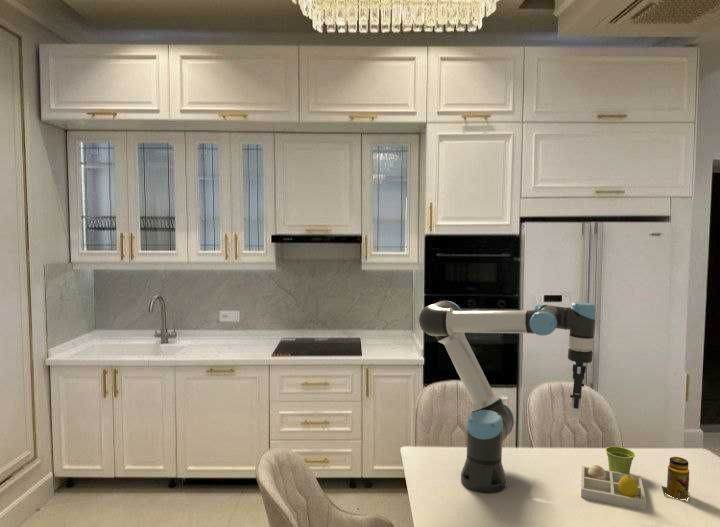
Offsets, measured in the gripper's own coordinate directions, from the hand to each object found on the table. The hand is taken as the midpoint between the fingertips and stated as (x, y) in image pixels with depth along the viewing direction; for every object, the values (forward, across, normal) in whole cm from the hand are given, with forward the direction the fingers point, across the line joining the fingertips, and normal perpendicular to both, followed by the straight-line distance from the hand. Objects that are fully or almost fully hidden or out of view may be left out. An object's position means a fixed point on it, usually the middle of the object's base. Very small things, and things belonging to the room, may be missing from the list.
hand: (575, 411), depth 175 cm
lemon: (+25, -4, -17) cm, 30 cm away
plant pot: (+26, +15, -16) cm, 34 cm away
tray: (+25, 0, -13) cm, 28 cm away
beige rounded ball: (+25, +5, -8) cm, 27 cm away
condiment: (+25, +8, -32) cm, 41 cm away
